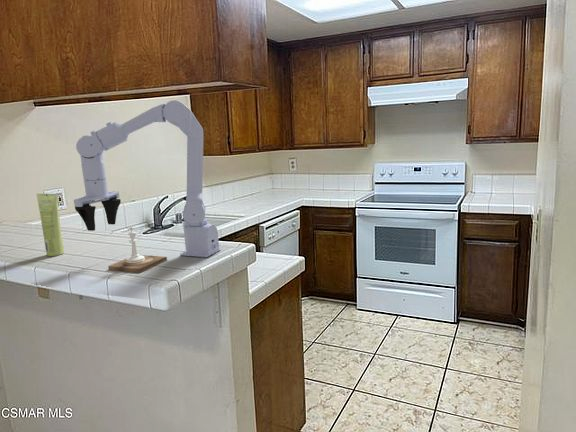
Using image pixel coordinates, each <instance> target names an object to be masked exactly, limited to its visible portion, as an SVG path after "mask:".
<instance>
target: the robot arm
mask: <svg viewBox="0 0 576 432" xmlns="http://www.w3.org/2000/svg"><path fill="white" fill-rule="evenodd" d="M167 122H168V123H170V124H171V125H173V126H175V127H176V128H179V129H180V131H181V132H182V133H183V134H184V135H185V136H186V137H187V138H186V140H187V142H186V145H187V147H186V195H185V196H186V197H185V205H184V207H183V210H182V219H183V220H184V222H183V223H182V228H183V238H184V245H185V251H182V252H181V253H179V256H184V257H187V256H188V257H199V258H207V257H210V256H211V255H214V254H216V253H218V252H219V251H221V250H222V249H221V247H220V244H219V243H220V242H219V232H218V229H217V226H216V225H215V224H211V223H209V221H208V219H206V205H205V203H204V201H203V177H204V176H203V175H204V172H203V171H204V166H203V165H204V163H203V162H204V129H203V127H202V125H201V123H200V122H199V121H198V118H196V116H195V115H194V113H193V112H192V110H191V109H190V108H189V107H188V106H187V105H185V104H184V102H181V101H179V100H174V99H173V100H169V101H168V102H167V103H162V104H161V103H160V104H159V105H156V106H153V107H152V108H149V109H148V110H146V111H144V112H141V113H140V114H139V115H137V116H135V117H132V118H131V119H129V120H127V121H126V122H123V123H120V122H117V121H114V122H111V121H109V122H107V123H105V127H102V128H100V129H98V130H96V131H95V130H92V131H90V135H83V136H82V137H80V138H79V139H78V140H77V142H76V145H75V146H76V147H75V148H76V151H77V152H78V155H80V162H81V171H82V178H83V184H84V190H85V192H84V193H85V195H84V196H81V197H79V198H75V199H73V204H74V210H75V211H76V212H77V214H79V217H80V218H81V219H82V221H83V222H84V225H85V227H86V230H87V231H91V232H93V231H96V220H95V214H96V208H97V206H95V205H94V206H93V204H96V203H101V204H102V207H103V209H104V211H105V215H106V216H105V217H106V221H107V224H108V225H113V226H114V225H116V222H117V214H118V210H119V206H120V204H121V203H122V201H121V198H120V192H119V191H113V190H112V191H108V189H109V188H108V183H107V175H106V168H105V164H104V158H103V153H104V151H105V152H107V151H109V150H111V149H113V148H116V147H117V146H119V145H120V144H124V143H125V142H126V141H128V137H129V135H130V134H133V133H134V132H137V131H139V130H141V129H143V128H144V127H147V126H149V125H152V124H154V123H167ZM91 204H92V205H91Z"/></svg>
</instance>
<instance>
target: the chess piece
mask: <svg viewBox="0 0 576 432" xmlns="http://www.w3.org/2000/svg"><path fill="white" fill-rule="evenodd" d="M128 230H129V232H128V236H129V238H130V240H129V241H128V242H129V243H130V244H131V255H130V256H128V257H127V258H126V259H127V261H126V262H127V263H138V262H142V261H144V260H145V258H144V256H142V255H143V254H139V252H138V249H137V244H136V242H138V239H136V235H137V231H134V230H136V228H135V227H133V225H130V226H129V227H128Z"/></svg>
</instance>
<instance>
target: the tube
mask: <svg viewBox="0 0 576 432" xmlns="http://www.w3.org/2000/svg"><path fill="white" fill-rule="evenodd" d="M36 198H37V203H38V204H37V205H38V212H39V215H40V221H41V228H42V233H43V234H42V235H43V240H44V247H45V253H46V256H47V257H57V256H62V255H63V254H64V253H65V251H64V243H63V235H62V234H63V233H62V228H61V222H60V215H59V214H60V213H59V206H58V205H59V203H58V196H57V193H36Z"/></svg>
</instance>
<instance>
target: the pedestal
mask: <svg viewBox="0 0 576 432" xmlns="http://www.w3.org/2000/svg"><path fill="white" fill-rule="evenodd" d="M141 255H142V256H144V258H145V260H144V261H142V262H138V263H127V262H126V261H127V258H125V259H122V260H120V261H117V262H115V263H113V264H110V265H108V267H107V268H108V271H109V270H110V271H120V272H129V273H130V272H131V273H138V274H139V273H143V272H145V271H147V270H149V269H152V268H153V267H156V266H158V265H161V264H162V263H164V262H166V261H168V257H167V256H160V255H159V256H158V255H147V254H144V255H143V254H141Z"/></svg>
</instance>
